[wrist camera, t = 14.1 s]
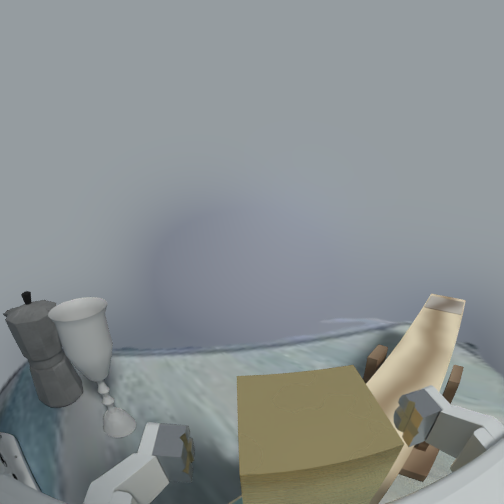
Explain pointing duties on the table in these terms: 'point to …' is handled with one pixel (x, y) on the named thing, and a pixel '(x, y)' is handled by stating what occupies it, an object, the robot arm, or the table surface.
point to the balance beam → (414, 367)
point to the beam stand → (424, 452)
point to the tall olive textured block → (312, 438)
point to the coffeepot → (44, 352)
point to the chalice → (91, 353)
